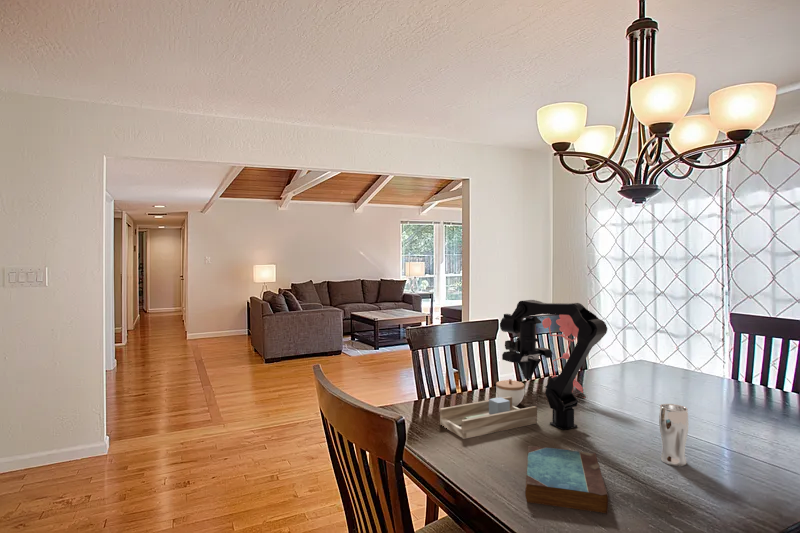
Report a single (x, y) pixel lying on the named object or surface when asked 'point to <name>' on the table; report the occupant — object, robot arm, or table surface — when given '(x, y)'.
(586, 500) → the book
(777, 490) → the table surface
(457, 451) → the table surface
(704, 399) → the table surface
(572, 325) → the pink branch
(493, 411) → the block
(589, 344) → the robot arm
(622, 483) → the table surface
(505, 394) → the lidded jar
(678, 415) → the beer glass
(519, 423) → the tray
